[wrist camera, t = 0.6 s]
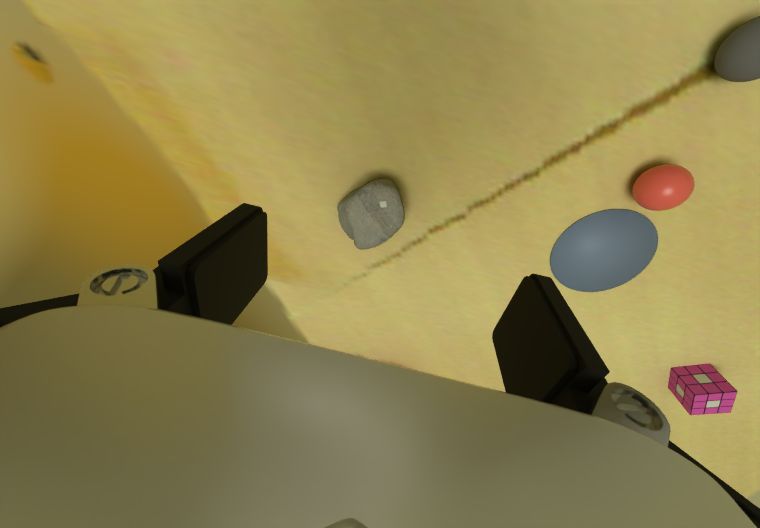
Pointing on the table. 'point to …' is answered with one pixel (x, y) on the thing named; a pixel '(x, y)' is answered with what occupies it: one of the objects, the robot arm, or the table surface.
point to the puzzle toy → (702, 389)
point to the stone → (372, 213)
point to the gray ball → (740, 53)
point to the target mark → (604, 250)
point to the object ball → (663, 187)
